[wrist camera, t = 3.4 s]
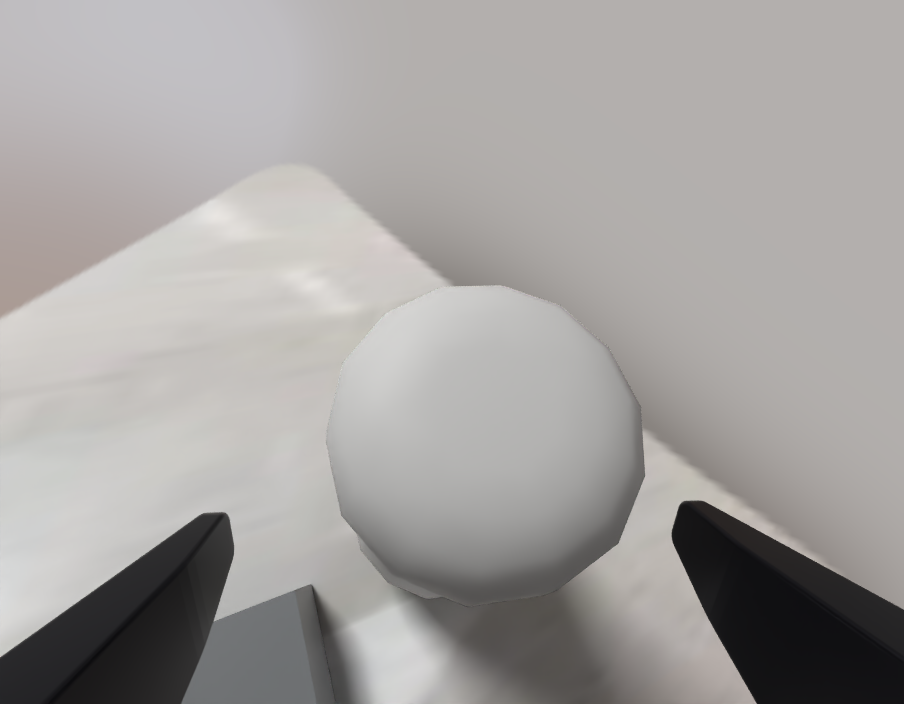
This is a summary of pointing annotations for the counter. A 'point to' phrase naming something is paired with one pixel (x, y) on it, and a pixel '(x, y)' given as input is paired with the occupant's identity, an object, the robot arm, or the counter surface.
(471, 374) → the salt shaker
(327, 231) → the counter surface
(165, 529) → the counter surface
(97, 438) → the counter surface
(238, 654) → the scale
